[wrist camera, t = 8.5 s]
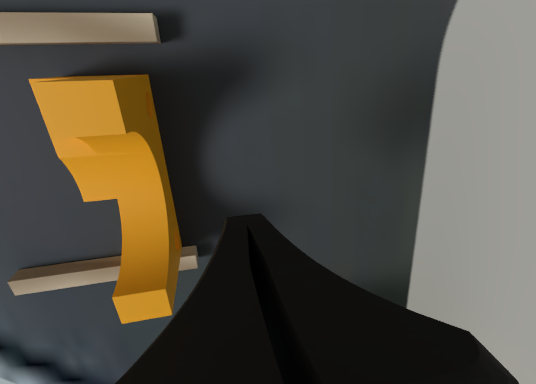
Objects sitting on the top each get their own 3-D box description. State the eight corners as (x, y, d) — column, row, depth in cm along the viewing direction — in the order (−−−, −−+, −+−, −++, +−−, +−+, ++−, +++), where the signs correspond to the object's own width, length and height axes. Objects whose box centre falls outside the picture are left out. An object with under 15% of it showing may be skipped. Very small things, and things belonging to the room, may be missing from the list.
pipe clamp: (64, 76, 14) (-31, 84, 9) (148, 74, 15) (112, 80, 9) (121, 252, 20) (86, 330, 14) (182, 244, 20) (172, 314, 15)
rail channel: (198, 257, 21) (197, 267, 20) (26, 282, 19) (15, 295, 18) (156, 17, 14) (152, 13, 13) (-124, 16, 12) (-157, 11, 11)
